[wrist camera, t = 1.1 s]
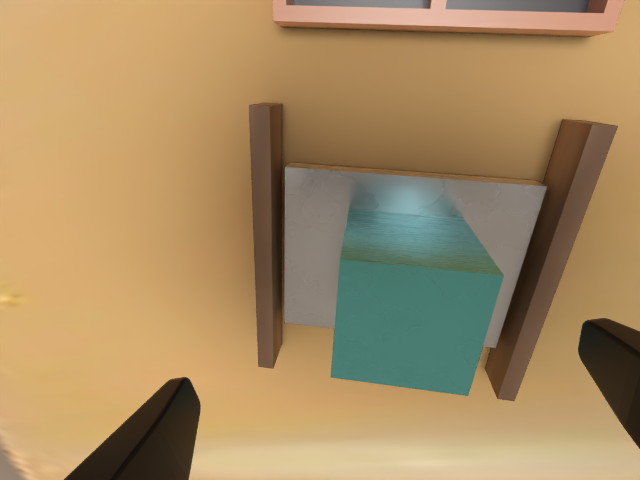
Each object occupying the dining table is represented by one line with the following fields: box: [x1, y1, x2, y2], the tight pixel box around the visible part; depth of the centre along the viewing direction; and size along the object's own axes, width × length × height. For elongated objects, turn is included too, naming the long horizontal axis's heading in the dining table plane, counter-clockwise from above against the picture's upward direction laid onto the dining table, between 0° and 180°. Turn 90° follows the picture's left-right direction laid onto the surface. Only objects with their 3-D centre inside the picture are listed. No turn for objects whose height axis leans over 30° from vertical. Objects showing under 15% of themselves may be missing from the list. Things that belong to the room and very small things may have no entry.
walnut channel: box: [249, 103, 618, 401], centre depth 20 cm, size 16×16×2 cm
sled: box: [284, 163, 547, 396], centre depth 18 cm, size 13×10×7 cm
